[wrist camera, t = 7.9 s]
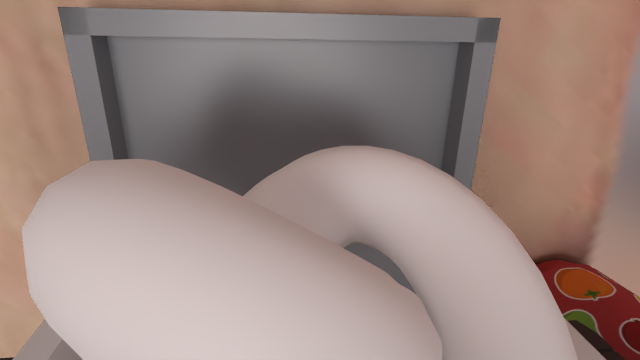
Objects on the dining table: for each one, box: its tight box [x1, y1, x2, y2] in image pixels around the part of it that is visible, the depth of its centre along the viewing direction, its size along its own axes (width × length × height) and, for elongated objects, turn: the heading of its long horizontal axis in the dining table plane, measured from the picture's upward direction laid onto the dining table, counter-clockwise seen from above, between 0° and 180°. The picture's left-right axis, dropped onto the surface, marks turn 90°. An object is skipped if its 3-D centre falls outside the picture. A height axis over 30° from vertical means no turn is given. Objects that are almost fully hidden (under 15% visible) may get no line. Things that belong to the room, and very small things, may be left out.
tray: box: [58, 7, 501, 294], centre depth 20 cm, size 18×18×2 cm
